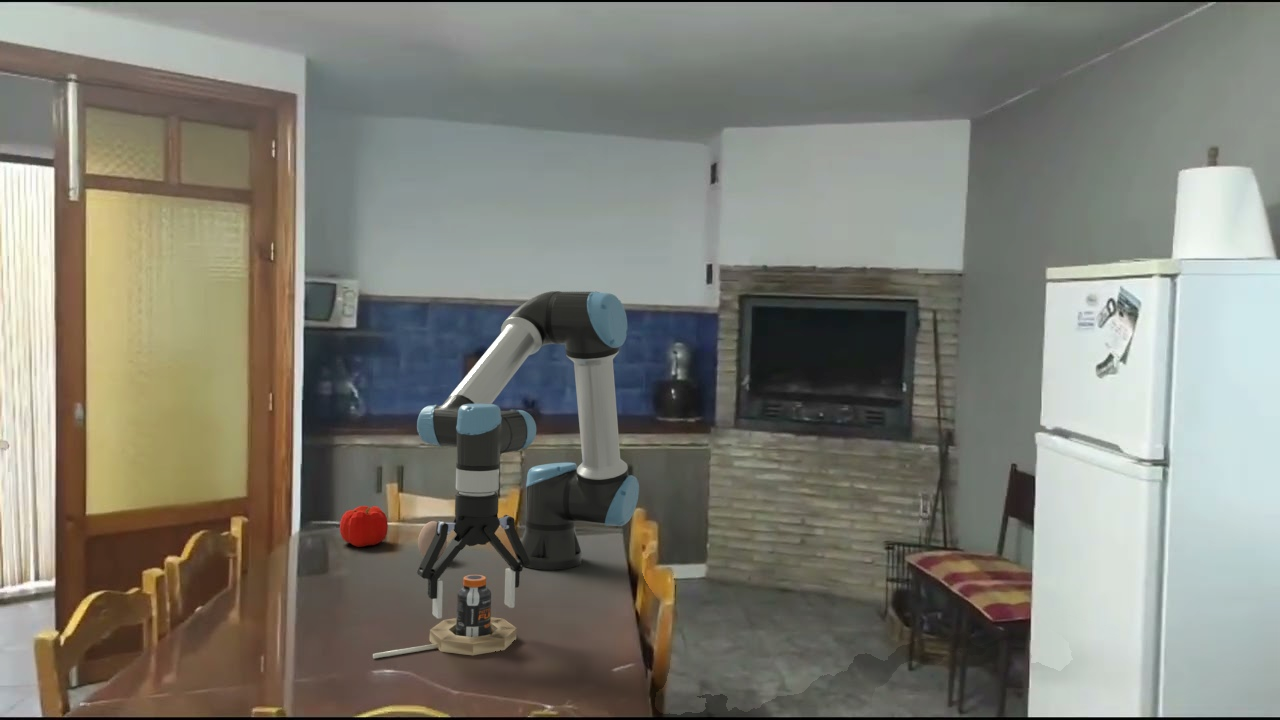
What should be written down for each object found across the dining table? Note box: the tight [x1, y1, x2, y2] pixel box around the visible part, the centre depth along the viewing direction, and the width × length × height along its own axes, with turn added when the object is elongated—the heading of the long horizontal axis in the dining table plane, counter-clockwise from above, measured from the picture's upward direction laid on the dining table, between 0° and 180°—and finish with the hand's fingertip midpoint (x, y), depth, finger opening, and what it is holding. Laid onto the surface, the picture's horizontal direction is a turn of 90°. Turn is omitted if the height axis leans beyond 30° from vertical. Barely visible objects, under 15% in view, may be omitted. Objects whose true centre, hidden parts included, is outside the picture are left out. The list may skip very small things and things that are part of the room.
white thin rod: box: [372, 643, 438, 660], centre depth 159 cm, size 11×1×1 cm, turn 122°
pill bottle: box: [456, 574, 492, 637], centre depth 166 cm, size 6×6×11 cm
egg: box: [417, 520, 448, 560], centre depth 219 cm, size 7×7×9 cm
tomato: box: [339, 505, 389, 548], centre depth 231 cm, size 11×12×9 cm
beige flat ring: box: [429, 616, 518, 656], centre depth 166 cm, size 14×14×2 cm
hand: (473, 611), depth 166 cm, fingers open, 13 cm apart
